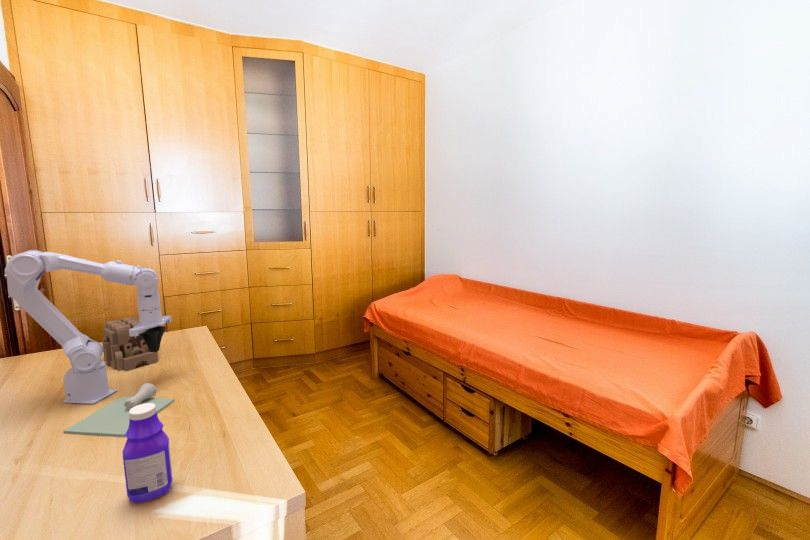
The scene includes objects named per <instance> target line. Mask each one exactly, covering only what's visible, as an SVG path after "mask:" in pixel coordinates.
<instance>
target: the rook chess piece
mask: <svg viewBox="0 0 810 540" xmlns="http://www.w3.org/2000/svg"><path fill="white" fill-rule="evenodd" d="M156 394H157V387H156V386H155V384H153V383H149V382H145V383H143V384H142V385H141V386H140V387H139V388H138V390H137V392H136V394H134V395H132V396H130V397H131V398H128V399H127V400H126V401H125V404H124V406H126V409H128V408H129V410H130V409H131V408H133V407H135V406H137V405H138V404H140V402H141V401H143V400H145V399H149V398H154V397H155V395H156Z"/></svg>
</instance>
